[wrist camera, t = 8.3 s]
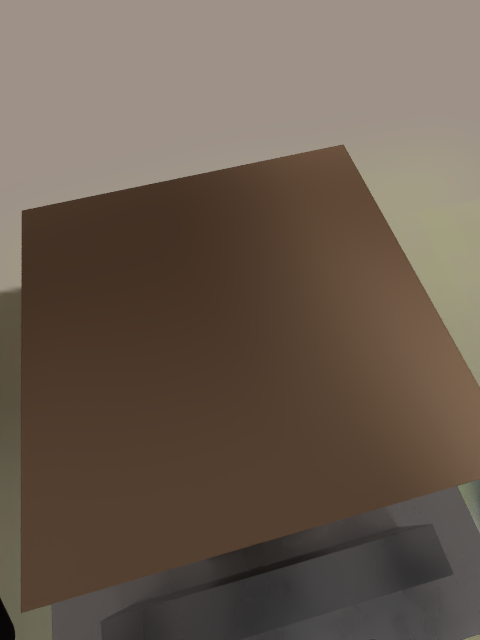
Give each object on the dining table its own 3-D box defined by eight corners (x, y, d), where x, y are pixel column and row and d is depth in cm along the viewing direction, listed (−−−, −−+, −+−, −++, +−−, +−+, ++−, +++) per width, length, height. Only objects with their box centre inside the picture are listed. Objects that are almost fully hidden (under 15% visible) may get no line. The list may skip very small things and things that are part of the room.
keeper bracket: (503, 615, 13) (591, 642, 10) (70, 753, 12) (-7, 840, 9) (362, 306, 19) (386, 253, 15) (56, 380, 18) (7, 340, 14)
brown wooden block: (319, 522, 14) (523, 466, 3) (204, 555, 14) (20, 612, 3) (284, 409, 16) (343, 143, 5) (182, 436, 15) (22, 210, 5)
